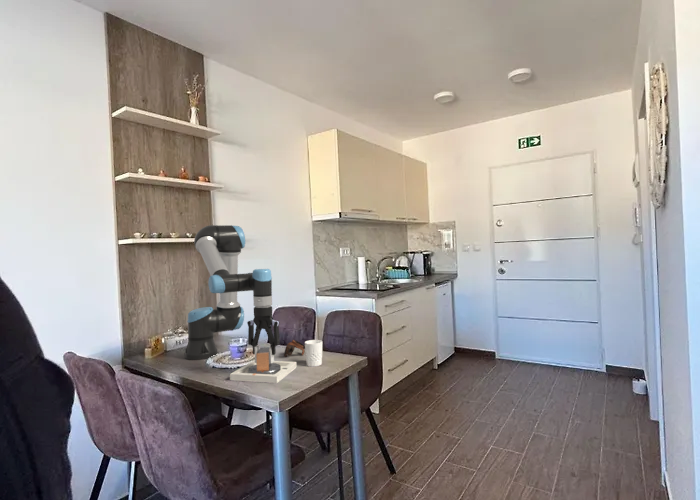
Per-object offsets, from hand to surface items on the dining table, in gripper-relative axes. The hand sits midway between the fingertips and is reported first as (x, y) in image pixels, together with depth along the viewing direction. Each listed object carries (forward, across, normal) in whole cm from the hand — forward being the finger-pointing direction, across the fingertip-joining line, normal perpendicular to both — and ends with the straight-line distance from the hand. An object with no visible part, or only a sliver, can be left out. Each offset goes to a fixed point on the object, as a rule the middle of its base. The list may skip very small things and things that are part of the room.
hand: (264, 362), depth 162 cm
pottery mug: (+5, +1, +29) cm, 29 cm away
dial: (+4, 0, 0) cm, 4 cm away
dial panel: (+5, 0, 0) cm, 5 cm away
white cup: (+5, +16, +16) cm, 23 cm away
